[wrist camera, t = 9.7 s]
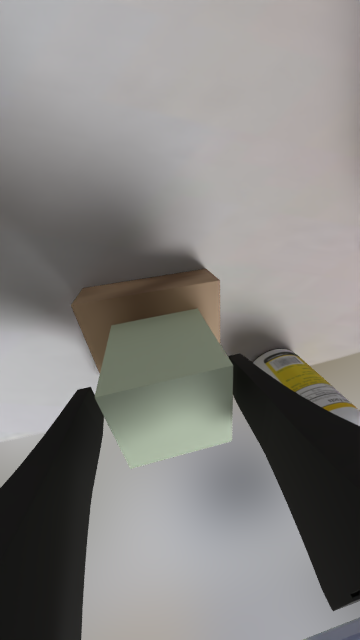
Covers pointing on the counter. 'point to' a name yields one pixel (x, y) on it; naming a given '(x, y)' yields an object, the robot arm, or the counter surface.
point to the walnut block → (145, 304)
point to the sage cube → (165, 387)
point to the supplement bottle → (306, 382)
